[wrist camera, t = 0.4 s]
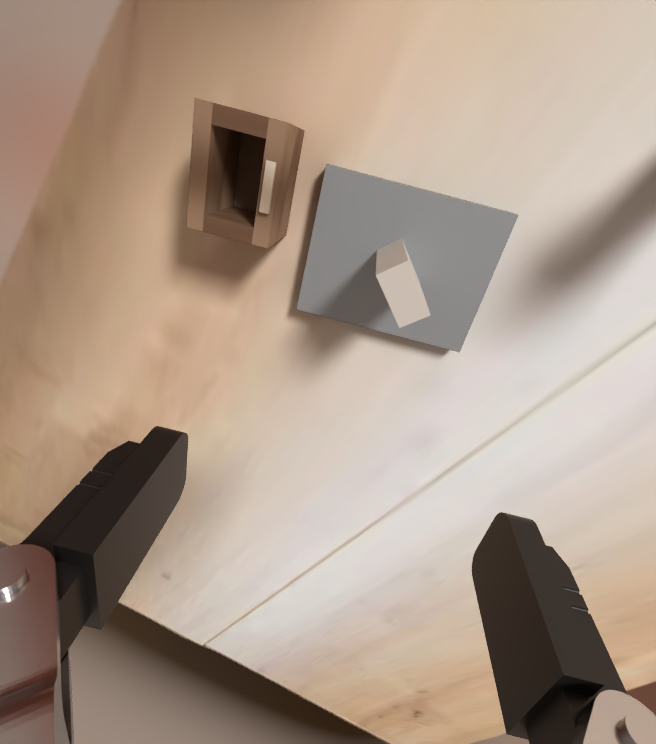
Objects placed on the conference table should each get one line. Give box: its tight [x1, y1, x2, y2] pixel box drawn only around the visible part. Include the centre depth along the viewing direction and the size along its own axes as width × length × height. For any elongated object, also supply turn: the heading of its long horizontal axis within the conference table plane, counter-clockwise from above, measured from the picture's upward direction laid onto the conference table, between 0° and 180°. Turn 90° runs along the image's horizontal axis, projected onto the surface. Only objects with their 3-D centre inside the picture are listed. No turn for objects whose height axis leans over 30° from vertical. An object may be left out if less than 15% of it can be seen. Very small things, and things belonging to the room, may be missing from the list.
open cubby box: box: [187, 98, 304, 249], centre depth 28 cm, size 7×6×6 cm
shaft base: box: [297, 164, 518, 352], centre depth 28 cm, size 11×14×10 cm
